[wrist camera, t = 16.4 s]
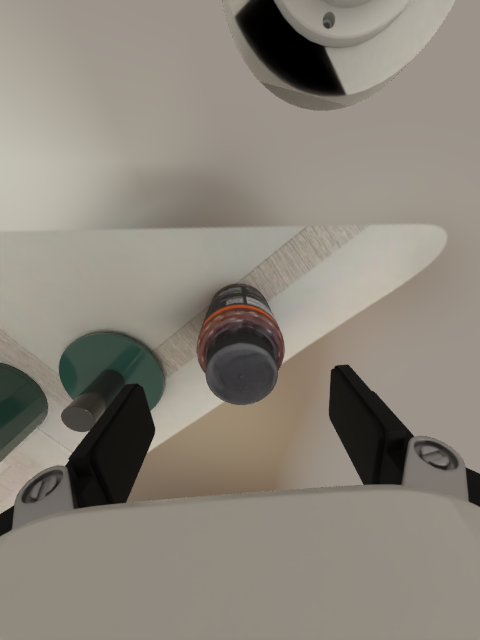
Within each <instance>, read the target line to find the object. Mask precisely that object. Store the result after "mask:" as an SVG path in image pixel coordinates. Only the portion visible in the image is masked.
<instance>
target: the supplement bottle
mask: <svg viewBox="0 0 480 640" xmlns="http://www.w3.org/2000/svg"><path fill="white" fill-rule="evenodd" d="M284 349H285V348H284V340H283V336H282V333H281V331H280V329H279V327H278V324H277V322H276V320H275V318H274V316H273V314H272V312H271V310H270V308H269V305H268V303H267V301H266V299H265V298H264V296H263V295H262V294H261V293H260V292H259V291H258V290H257V289H255V288H253V287H251V286H249V285H246V284H233V285H229V286H227V287H224V288H223V289H221V290H220V291H219V292H218V293H217V294H216V295H215V296H214V298H213V299H212V302H211V304H210V306H209V309H208V312H207V314H206V317H205V320H204V322H203V325H202V328H201V331H200V333H199V336H198V340H197V357H198V361H199V364H200V366H201V368H202V370H203V371H204V372H205V374H206V380H207V384H208V386H209V388H210V390H211V391H212V392H213V393H214V394H215V395H216V396H217V397H219V398H220V399H221V400H223V401H225V402H228V403H231V404H236V405H246V404H251V403H255V402H258V401H260V400H262V399H263V398H264V397H266V396H267V395H268V394H269V393H270V392H271V391H272V390H273V388H274V386H275V384H276V381H277V377H278V370H279V368H280V366H281V364H282V361H283V358H284V352H285V350H284Z"/></svg>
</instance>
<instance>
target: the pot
mask: <svg viewBox="0 0 480 640" xmlns="http://www.w3.org/2000/svg"><path fill="white" fill-rule="evenodd" d="M47 410H48V406H47V400H46V397H45V395H44V393H43V391H42V390H41V389H40V387H39V386H38V385H37V384H36V383H35V382H34V381H33V380H32V379H31V378H30V377H29V376H27V375H26V374H24V373H23V372H21V371H20V370H18V369H16V368H14V367H11V366H8V365H6V364H2V363H0V462H1V461H2V460H3V459H4V458H5V457H6V456H7V455H8V454H9V453H10V452H11V451H12V450H13V449H14V448H16V447H17V446H18V445H19V444H20V443H21V442H22V441H23V440H24V439H25V438H26V437H27V436H28V435H29V434H30V433H31V432H32V431H33V430H34V429H35V428H36V427H37V426H38V425H39V424H41V423H42V421H43V420H44V419H45V417H46V414H47Z"/></svg>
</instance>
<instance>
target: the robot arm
mask: <svg viewBox="0 0 480 640" xmlns="http://www.w3.org/2000/svg"><path fill="white" fill-rule="evenodd" d="M410 1H411V0H274V2H275V3H276V5H277V7H278V8H279V10H280V12H281V13H282V15H283V17H284V18H285V19H286V20H287V21H288V23H289V24H290V25H291V26H292V27H293V28H294V29H295V30H296V31H297V32H298V33H300V34H301V35H302V36H304V37H305V38H307V39H308V40H310V41H312V42H315V43H317V44H320V45H323V46H328V47H339V48H341V47H347V46H352V45H357V44H359V43H361V42H364V41H366V40H369V39H371V38H373V37H374V36H375V35H377V34H378V33H380V32H381V31H383V30H384V29H386V28H387V27H388V26H389V25H390V24H391V23H392V22H393V21H394V20H395V19H396V18H397V17H398V16H399V15H400V14H401V13H402V12H403V11H404V9H405V8H406V7H407V5H408V4H409V3H410ZM325 27H326V28H327V29H326V28H325ZM329 417H330V420H331V422H332V424H333V426H334V428H335V430H336V432H337V434H338V435H339V437H340V439H341V441H342V443H343V445H344V447H345V449H346V451H347V453H348V455H349V457H350V459H351V461H352V463H353V465H354V467H355V469H356V471H357V473H358V474H359V476H360V478H361V480H362V482H363V484H364V485H355V486H336V487H321V488H306V489H292V490H278V491H264V492H251V493H239V494H226V495H213V496H200V497H188V498H176V499H164V500H152V501H141V502H130V503H126V501H127V498H128V496H129V494H130V492H131V489H132V487H133V485H134V482H135V480H136V477H137V475H138V472H139V470H140V468H141V466H142V463H143V461H144V458H145V456H146V454H147V451H148V449H149V446H150V444H151V442H152V439H153V437H154V434H155V426H154V423H153V419H152V416H151V412H150V409H149V406H148V402H147V399H146V395H145V392H144V388H143V387H142V386H140V385H139V384H138V383H134V384H126V385H124V386H123V388H122V389H121V390H120V392H119V393H118V394H117V396H116V397H115V398H114V400H113V401H112V402H111V403H110V405H109V406H108V407H107V409H106V410H105V411H104V413H103V414H102V415H101V417H100V418H99V419H98V420H97V422H96V423H95V424H94V426H93V427H92V428H91V430H90V431H89V432H88V434H87V435H86V436H85V438H84V439H83V440H82V441H81V443H80V444H79V445H78V447H77V448H76V449H75V451H74V452H73V453H72V455H71V456H70V457H69V458H68V459H69V462H68V463H67V464H66V466H54V467H50V468H48V469H46V470H44V471H42V472H40V473H39V474H37V475H35V476H34V477H33V478H32V479H30V480H29V481H28V482H27V483H26V484H25V485H24V486H23V487H22V488H21V490H20V491H19V493H18V494H17V497H16V500H15V505H14V506H12V507H11V508H9V509H8V510H6V511H4V512H3V513H1V514H0V640H480V474H479V473H477V472H475V471H472V470H470V469H468V468H466V467H465V464H464V461H463V459H462V458H461V456H460V455H459V454H458V453H457V452H456V451H455V450H454V449H453V448H451V447H450V446H448V445H447V444H445V443H444V442H441V441H439V440H437V439H434V438H431V437H427V436H416V437H414V436H413V434H412V433H411V432H410V431H409V430H408V429H407V428H406V427H405V425H404V424H403V423H402V422H401V421H400V420H399V419H398V418H397V417H396V415H395V414H394V413H393V412H392V411H391V410H390V409H389V408H388V406H386V404H385V403H384V402H383V401H382V400H381V399H380V398H379V396H378V395H377V394H376V393H375V392H373V391H371V390H370V389H369V388H368V386H367V385H366V384H365V383H364V382H363V381H362V380H361V378H360V377H359V376H358V375H357V374H356V373H355V372H354V371H353V369H352V368H351V367H350V366H349V365H337V366H335V368H334V369H332V370H331V382H330V400H329Z"/></svg>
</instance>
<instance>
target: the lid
mask: <svg viewBox="0 0 480 640" xmlns="http://www.w3.org/2000/svg"><path fill="white" fill-rule="evenodd" d="M59 374H60V379H61V382H62V384H63V386H64V388H65V390H66V391H67V393H68V394H69V396H70V397H71V398H72V399H73V401H72V402H71V403H70V404H69V405H68V406H67V407H66V408H65V409H64V410H63V412H62V414H61V418H62V421H63V423H64V424H65V425H66V426H67V427H68V428H70V429H72V430H74V431H78V432H86V431H89V430H91V428H92V427H93V426H94V424H95V423H96V422H97V420H98V419H99V418H100V417H101V415H102V414H103V413H104V411H105V410H106V409H107V407H108V406H109V405H110V403H111V402H112V401H113V400H114V398H115V397H116V396H117V394H118V393H119V392H120V390H121V389H122V388H123V386H124V385H126V384H134V383H138V384H139V385H140V386H142V387H143V388H144V392H145V395H146V399H147V402H148V406H149V409H150V411H151V410H152V409H153V408H154V407H155V406H156V405H157V403H158V402H159V400H160V398H161V396H162V394H163V391H164V374H163V371H162V368H161V366H160V364H159V362H158V361H157V359H156V358H155V357H154V355H153V354H152V353H151V352H150V351H149V350H148V349H147V348H146V347H144V346H143V345H142V344H140V343H138V342H137V341H135V340H133V339H131V338H129V337H126V336H123V335H120V334H115V333H107V332H102V333H92V334H89V335H85V336H83V337H81V338H79V339H77V340H76V341H74V342H73V343H71V344H70V345H69V346H68V347H67V348H66V350H65V351H64V353H63V354H62V356H61V359H60V364H59Z"/></svg>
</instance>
